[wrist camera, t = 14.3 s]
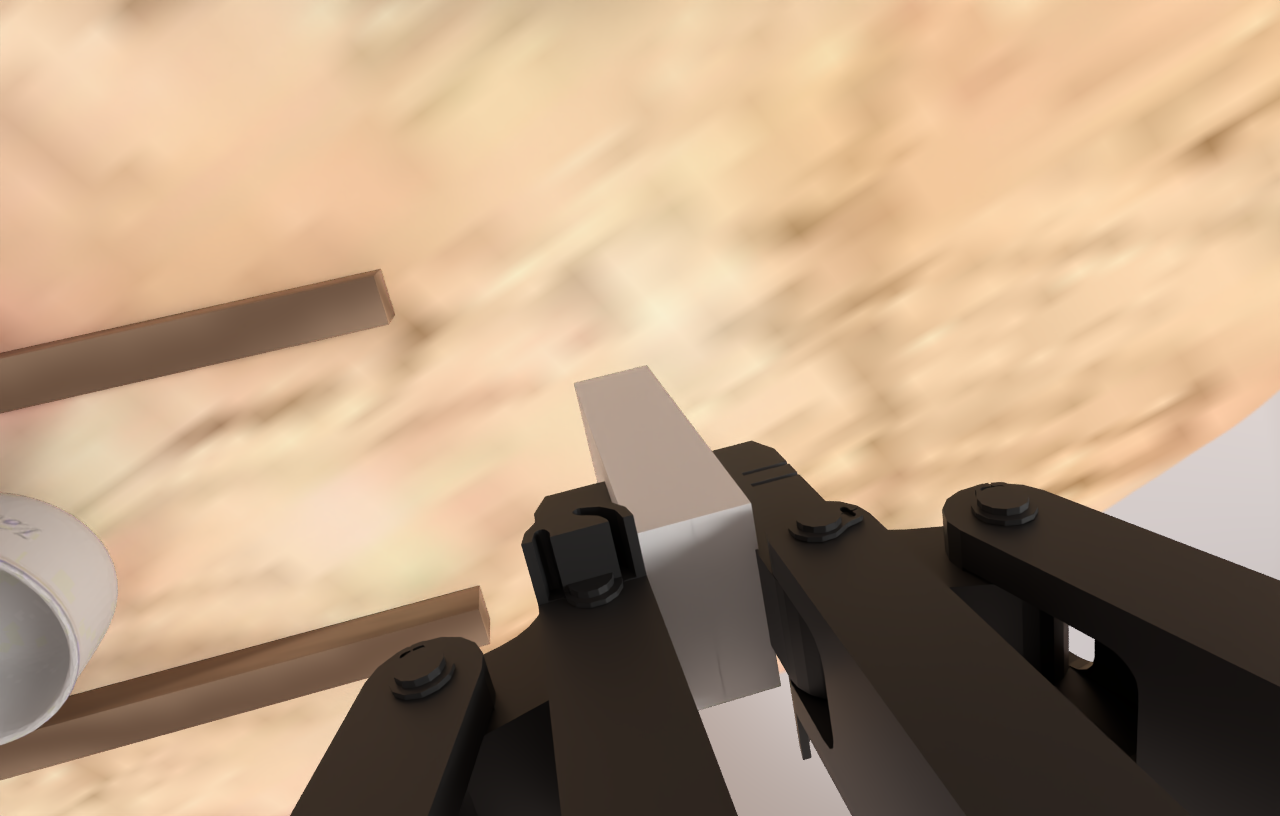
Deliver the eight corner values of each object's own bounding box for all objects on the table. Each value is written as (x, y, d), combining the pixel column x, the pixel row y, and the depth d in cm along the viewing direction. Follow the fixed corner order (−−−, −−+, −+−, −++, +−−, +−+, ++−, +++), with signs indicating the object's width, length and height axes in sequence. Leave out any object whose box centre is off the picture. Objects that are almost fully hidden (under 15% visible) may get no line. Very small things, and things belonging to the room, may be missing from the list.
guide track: (-328, 418, 35) (-454, 458, 30) (379, 263, 39) (363, 277, 34) (-83, 781, 42) (-155, 858, 38) (491, 623, 46) (491, 675, 41)
